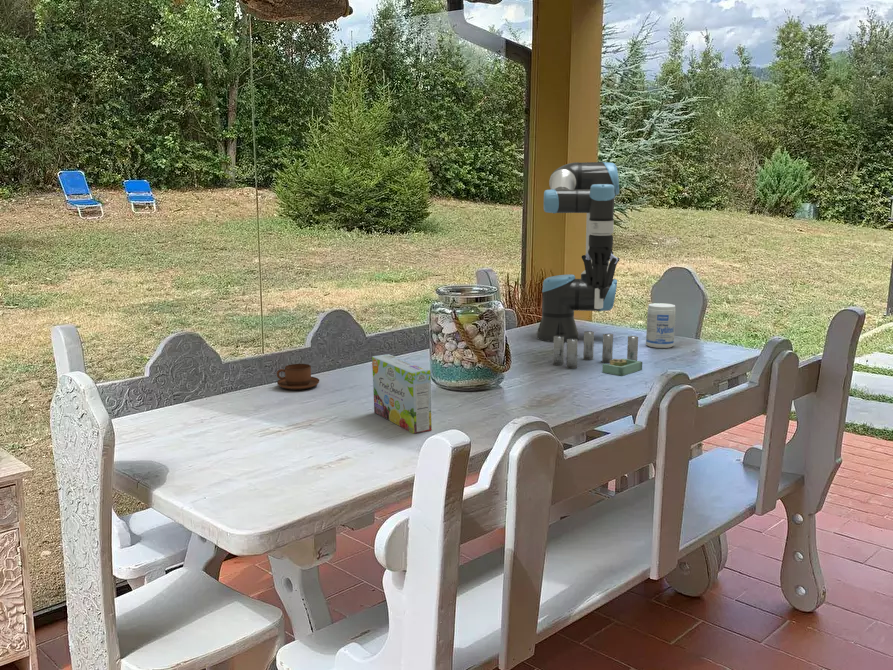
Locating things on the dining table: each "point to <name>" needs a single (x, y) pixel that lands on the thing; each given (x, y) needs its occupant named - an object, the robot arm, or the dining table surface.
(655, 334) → the supplement tub
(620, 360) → the nut
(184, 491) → the dining table surface
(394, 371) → the snack box
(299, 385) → the cup and saucer
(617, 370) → the tray
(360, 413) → the dining table surface
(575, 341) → the spacers
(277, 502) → the dining table surface
